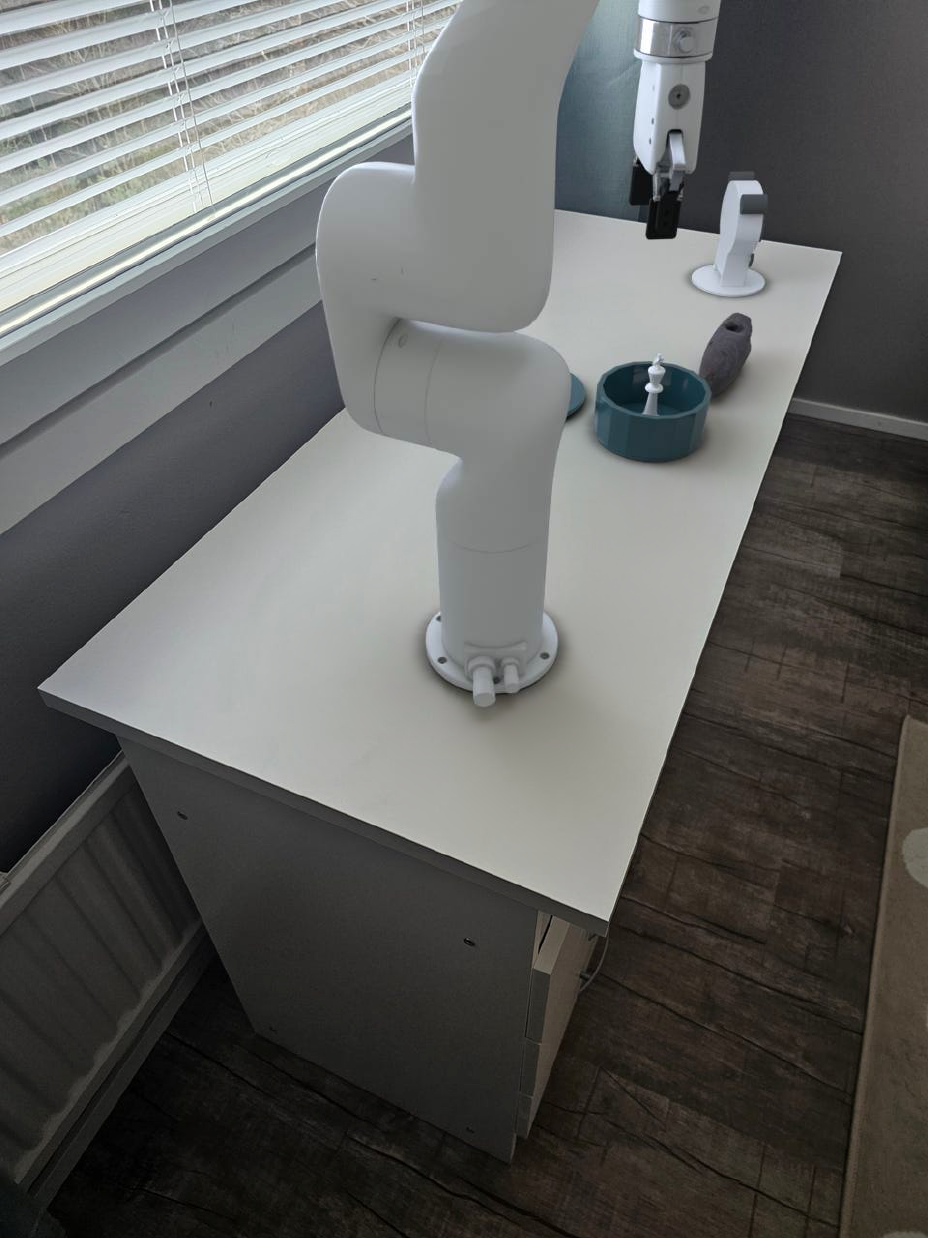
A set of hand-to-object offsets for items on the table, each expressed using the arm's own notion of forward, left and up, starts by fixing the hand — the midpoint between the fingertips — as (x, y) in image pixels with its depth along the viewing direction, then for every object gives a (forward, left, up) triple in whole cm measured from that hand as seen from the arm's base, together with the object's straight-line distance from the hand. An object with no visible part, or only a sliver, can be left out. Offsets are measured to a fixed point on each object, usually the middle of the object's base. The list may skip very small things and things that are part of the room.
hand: (651, 220), depth 97 cm
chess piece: (-4, -2, -24) cm, 24 cm away
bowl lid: (+5, +12, -24) cm, 27 cm away
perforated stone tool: (+7, -14, -24) cm, 29 cm away
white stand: (+38, -23, -24) cm, 51 cm away
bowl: (-4, -2, -24) cm, 25 cm away
